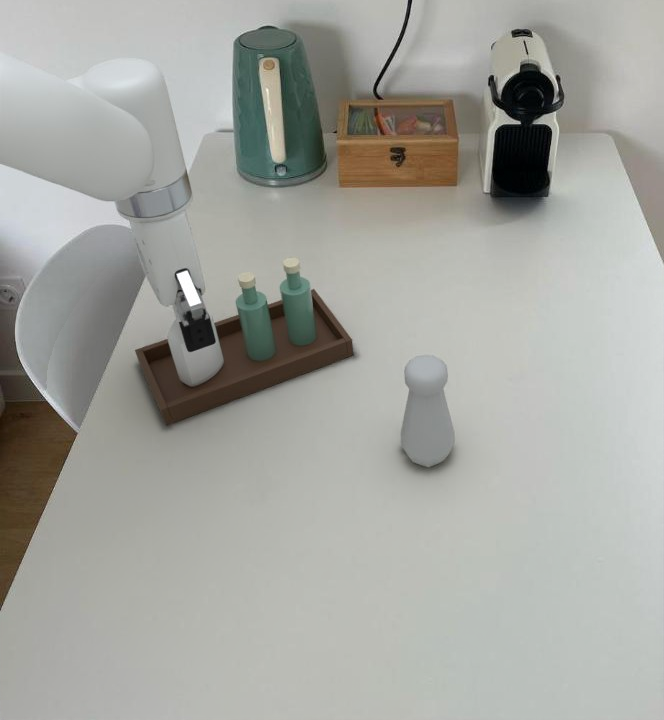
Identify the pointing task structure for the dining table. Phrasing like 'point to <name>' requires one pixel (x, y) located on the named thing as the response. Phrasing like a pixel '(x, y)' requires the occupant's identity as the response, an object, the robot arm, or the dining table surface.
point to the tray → (242, 363)
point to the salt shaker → (426, 412)
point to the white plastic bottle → (193, 354)
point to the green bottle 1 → (255, 319)
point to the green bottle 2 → (297, 305)
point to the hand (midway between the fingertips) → (188, 322)
